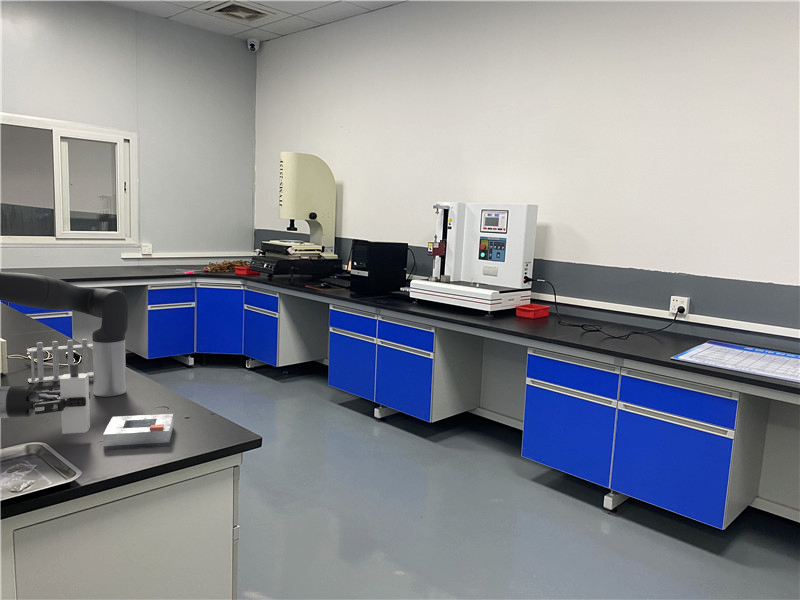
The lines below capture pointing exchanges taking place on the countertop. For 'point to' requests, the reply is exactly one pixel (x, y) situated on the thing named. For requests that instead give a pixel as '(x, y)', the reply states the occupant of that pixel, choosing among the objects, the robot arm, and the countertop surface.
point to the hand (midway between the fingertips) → (87, 398)
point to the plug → (75, 387)
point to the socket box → (138, 431)
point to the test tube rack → (57, 359)
